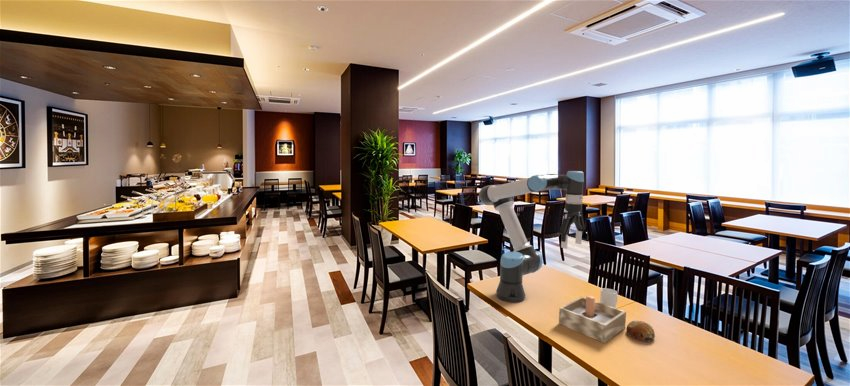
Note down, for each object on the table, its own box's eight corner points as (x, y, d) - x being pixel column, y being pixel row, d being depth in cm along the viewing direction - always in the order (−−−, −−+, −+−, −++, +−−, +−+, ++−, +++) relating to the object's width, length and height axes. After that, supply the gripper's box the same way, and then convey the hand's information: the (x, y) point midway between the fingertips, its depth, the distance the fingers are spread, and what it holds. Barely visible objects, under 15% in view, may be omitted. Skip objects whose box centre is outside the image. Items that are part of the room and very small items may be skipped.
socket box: (558, 323, 151) (559, 307, 150) (580, 311, 163) (581, 296, 162) (604, 343, 135) (605, 325, 134) (625, 327, 148) (626, 311, 147)
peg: (583, 322, 152) (584, 297, 151) (587, 320, 155) (588, 295, 153) (591, 325, 150) (592, 299, 148) (595, 323, 152) (596, 297, 150)
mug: (608, 319, 155) (610, 294, 154) (596, 313, 161) (597, 289, 160) (622, 315, 159) (624, 291, 158) (609, 309, 165) (611, 286, 164)
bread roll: (651, 342, 143) (649, 322, 145) (659, 343, 134) (657, 322, 136) (624, 338, 146) (624, 318, 149) (631, 339, 137) (630, 318, 139)
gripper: (567, 206, 151) (565, 251, 153) (593, 201, 166) (591, 243, 169) (552, 204, 157) (550, 248, 159) (579, 200, 172) (576, 240, 174)
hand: (571, 245), depth 164 cm, fingers open, 13 cm apart
